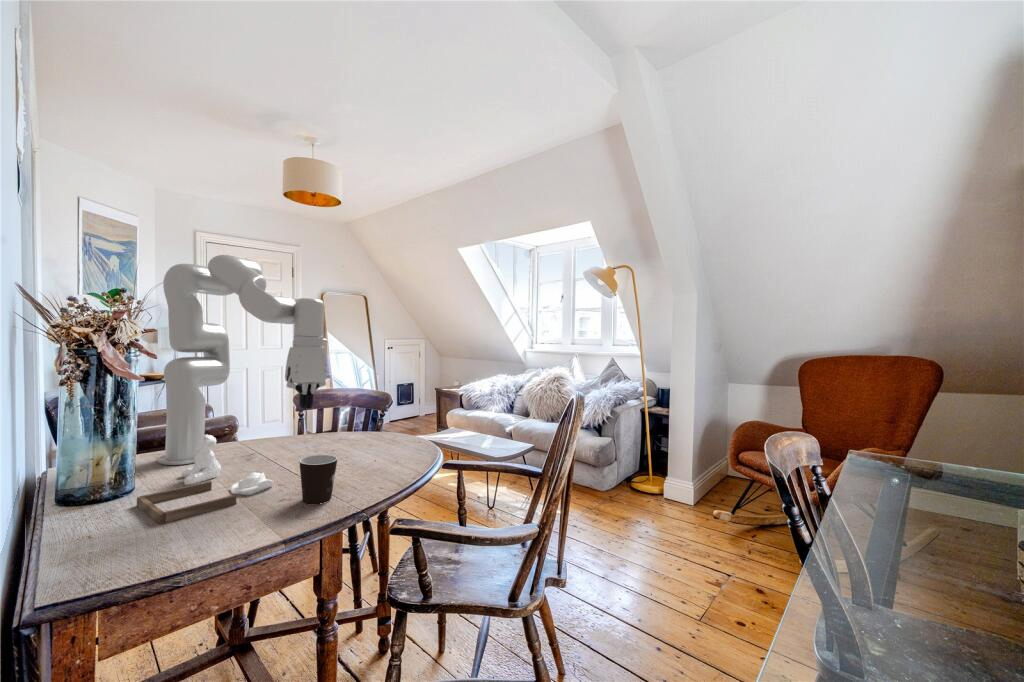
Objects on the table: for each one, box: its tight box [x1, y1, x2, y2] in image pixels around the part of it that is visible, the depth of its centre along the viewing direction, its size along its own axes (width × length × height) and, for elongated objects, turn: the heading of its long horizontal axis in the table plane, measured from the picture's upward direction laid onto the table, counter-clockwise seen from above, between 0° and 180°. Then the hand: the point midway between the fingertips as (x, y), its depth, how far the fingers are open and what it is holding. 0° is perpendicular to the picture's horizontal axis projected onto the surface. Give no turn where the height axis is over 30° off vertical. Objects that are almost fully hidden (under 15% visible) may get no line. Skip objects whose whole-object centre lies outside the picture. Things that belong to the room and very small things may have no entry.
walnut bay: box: [136, 481, 238, 525], centre depth 99 cm, size 15×14×2 cm
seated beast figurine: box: [180, 433, 222, 486], centre depth 117 cm, size 10×9×12 cm
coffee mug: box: [298, 454, 339, 505], centre depth 107 cm, size 12×9×10 cm
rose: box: [230, 471, 275, 496], centre depth 111 cm, size 10×4×10 cm
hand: (305, 407), depth 120 cm, fingers closed
